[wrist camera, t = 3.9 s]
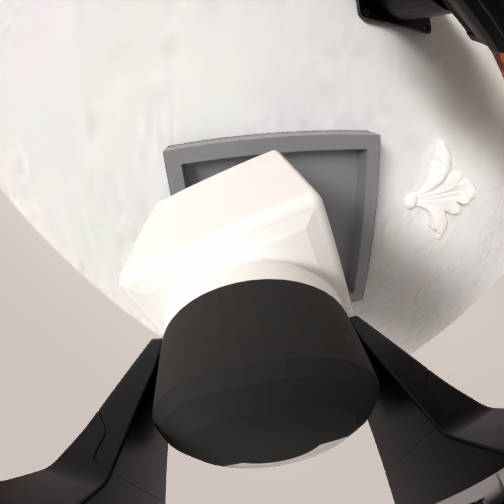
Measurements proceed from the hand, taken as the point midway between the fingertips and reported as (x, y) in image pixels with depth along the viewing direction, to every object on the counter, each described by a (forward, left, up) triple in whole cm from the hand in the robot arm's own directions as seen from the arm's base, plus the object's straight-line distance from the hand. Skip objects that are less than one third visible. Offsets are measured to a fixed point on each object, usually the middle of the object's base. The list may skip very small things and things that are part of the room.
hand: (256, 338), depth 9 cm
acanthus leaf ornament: (-18, +1, -14) cm, 23 cm away
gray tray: (-3, +3, -13) cm, 13 cm away
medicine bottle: (0, 0, -8) cm, 8 cm away
